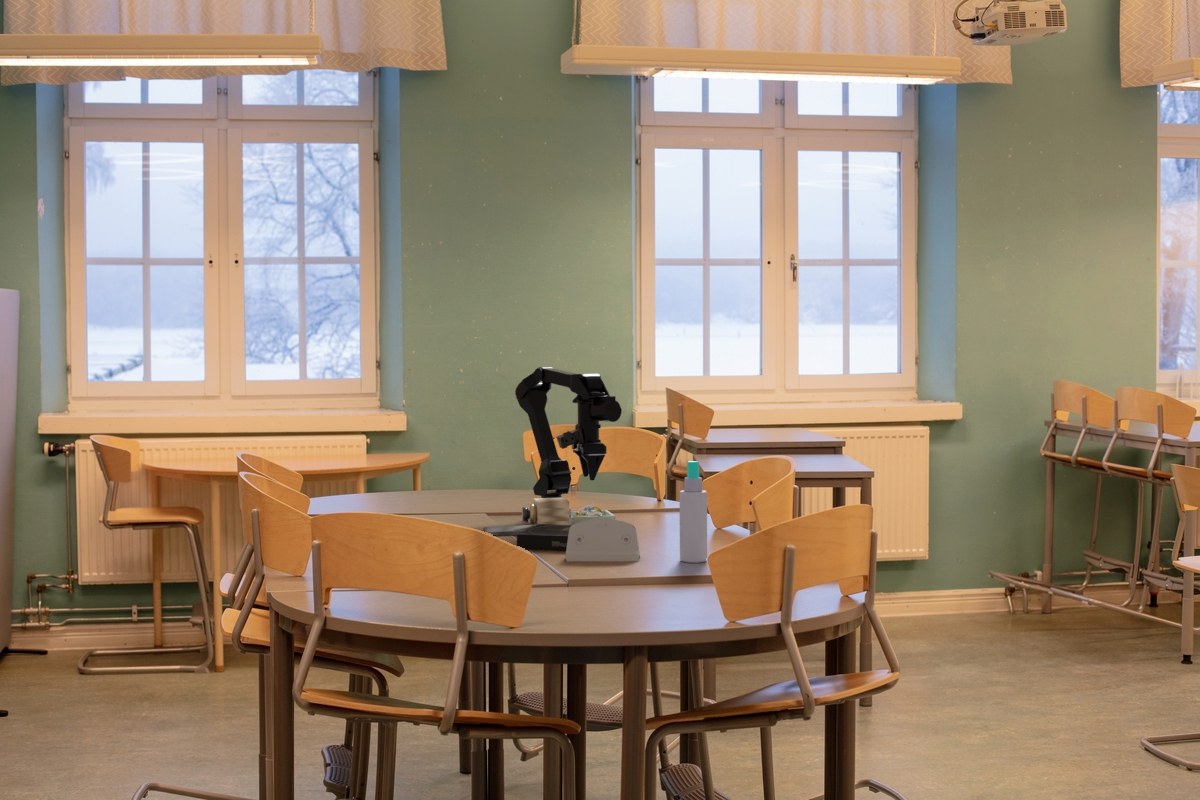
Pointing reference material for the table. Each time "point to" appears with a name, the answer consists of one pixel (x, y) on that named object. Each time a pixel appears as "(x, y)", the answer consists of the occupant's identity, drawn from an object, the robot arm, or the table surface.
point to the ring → (589, 511)
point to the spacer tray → (605, 515)
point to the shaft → (532, 514)
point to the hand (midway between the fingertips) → (588, 478)
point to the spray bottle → (693, 517)
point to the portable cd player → (544, 537)
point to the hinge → (602, 541)
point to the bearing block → (539, 516)
